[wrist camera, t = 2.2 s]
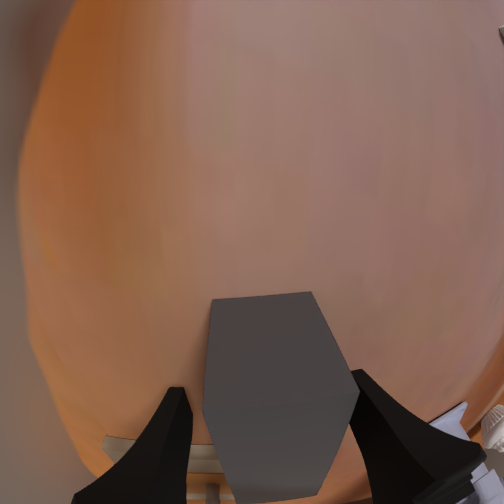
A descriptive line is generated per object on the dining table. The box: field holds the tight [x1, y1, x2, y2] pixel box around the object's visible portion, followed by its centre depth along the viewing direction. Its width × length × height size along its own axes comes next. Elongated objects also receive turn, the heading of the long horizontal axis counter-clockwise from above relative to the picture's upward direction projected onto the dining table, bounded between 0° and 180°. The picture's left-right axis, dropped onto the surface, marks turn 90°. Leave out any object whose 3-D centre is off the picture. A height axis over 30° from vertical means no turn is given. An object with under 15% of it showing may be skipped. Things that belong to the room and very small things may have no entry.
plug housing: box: [202, 292, 360, 504], centre depth 10 cm, size 9×4×5 cm, turn 3°
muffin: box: [481, 404, 504, 452], centre depth 17 cm, size 6×6×7 cm
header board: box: [102, 436, 255, 504], centre depth 14 cm, size 14×10×4 cm
